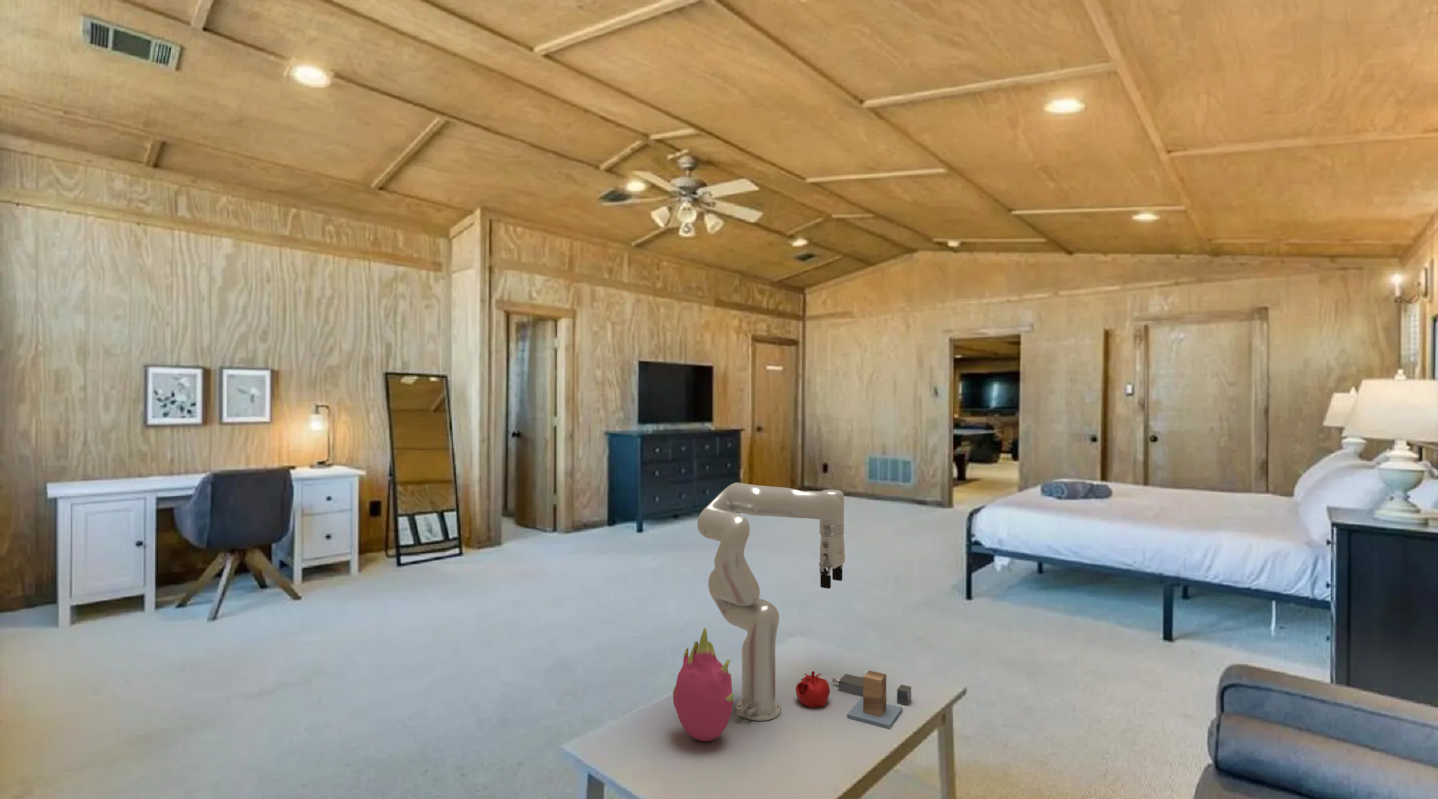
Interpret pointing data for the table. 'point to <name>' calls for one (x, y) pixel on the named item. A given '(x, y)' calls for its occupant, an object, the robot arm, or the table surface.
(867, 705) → the walnut peg
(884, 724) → the pad
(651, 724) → the table surface
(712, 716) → the pink dragon fruit
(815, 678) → the pomegranate
